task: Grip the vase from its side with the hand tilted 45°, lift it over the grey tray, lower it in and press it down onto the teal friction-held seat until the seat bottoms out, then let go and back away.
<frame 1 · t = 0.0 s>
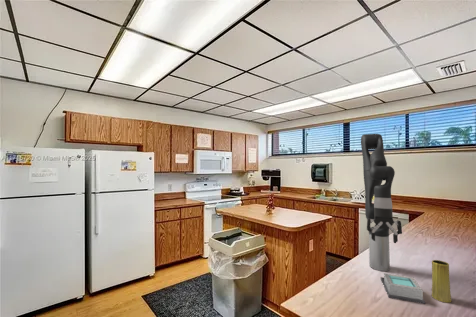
hand: (384, 241, 112), 17 cm above the counter, tool pointing down, fingers open, 8 cm apart
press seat: (401, 284, 99), point 4 cm above the counter, slide at 0.0 cm
vase: (441, 299, 95), on the counter
grey tray: (402, 293, 99), on the counter
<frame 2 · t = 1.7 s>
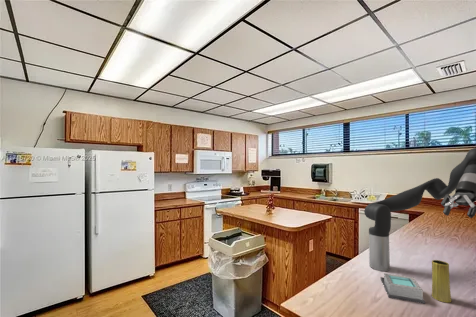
hand: (457, 215, 100), 32 cm above the counter, tool tilted 40°, fingers open, 8 cm apart
nothing on the counter moved.
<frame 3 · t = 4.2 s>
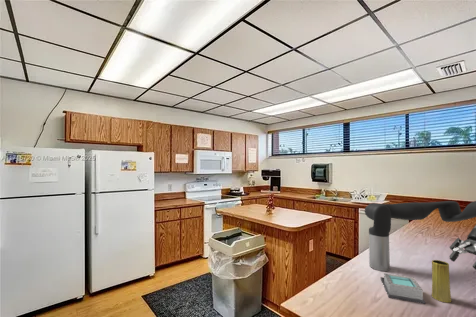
hand: (462, 264, 95), 14 cm above the counter, tool tilted 45°, fingers open, 8 cm apart
nothing on the counter moved.
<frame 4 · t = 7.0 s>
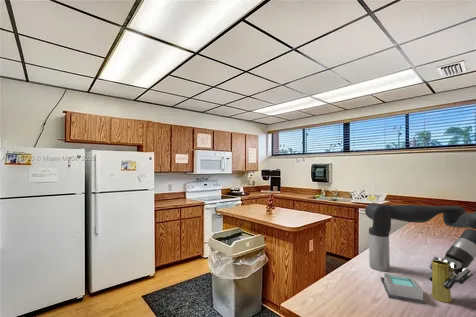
hand: (437, 283, 95), 6 cm above the counter, tool tilted 45°, fingers closed on vase, 5 cm apart
vase: (441, 299, 95), on the counter, touching gripper
everything else where it was.
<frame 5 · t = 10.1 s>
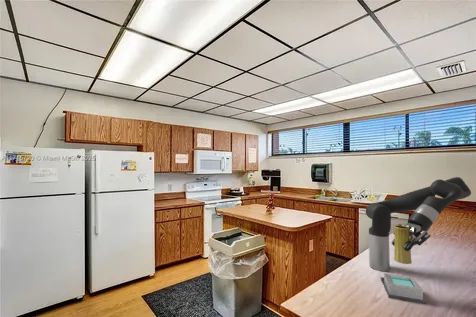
hand: (399, 247, 99), 19 cm above the counter, tool tilted 45°, fingers closed on vase, 5 cm apart
vase: (402, 261, 99), point 13 cm above the counter, touching gripper
everything else where it was.
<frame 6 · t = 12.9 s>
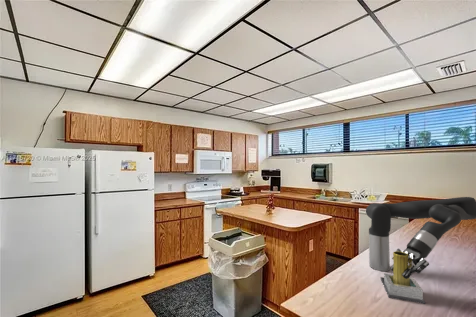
hand: (398, 273, 99), 8 cm above the counter, tool tilted 45°, fingers closed on vase, 5 cm apart
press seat: (402, 289, 99), point 1 cm above the counter, slide at 2.0 cm, touching grey tray, vase
vase: (401, 288, 99), point 2 cm above the counter, touching gripper, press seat
when the fingers open (8 cm above the counter, at t = 13.1 s): vase stays where it is, resting on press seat.
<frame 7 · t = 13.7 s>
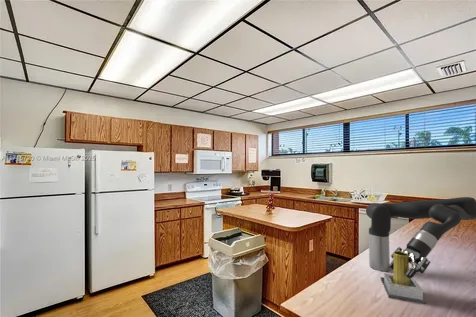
hand: (398, 272, 99), 9 cm above the counter, tool tilted 45°, fingers open, 8 cm apart
vase: (401, 288, 99), point 2 cm above the counter, touching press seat
everything else where it was.
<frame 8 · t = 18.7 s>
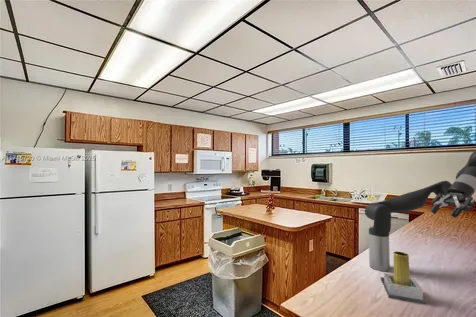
hand: (442, 214, 101), 33 cm above the counter, tool tilted 45°, fingers open, 8 cm apart
nothing on the counter moved.
at the end: vase 0.1 cm off-centre on the grey tray, point 1.8 cm above the grey tray's base; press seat slide at 2.0 cm; vase tilted 0° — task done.
